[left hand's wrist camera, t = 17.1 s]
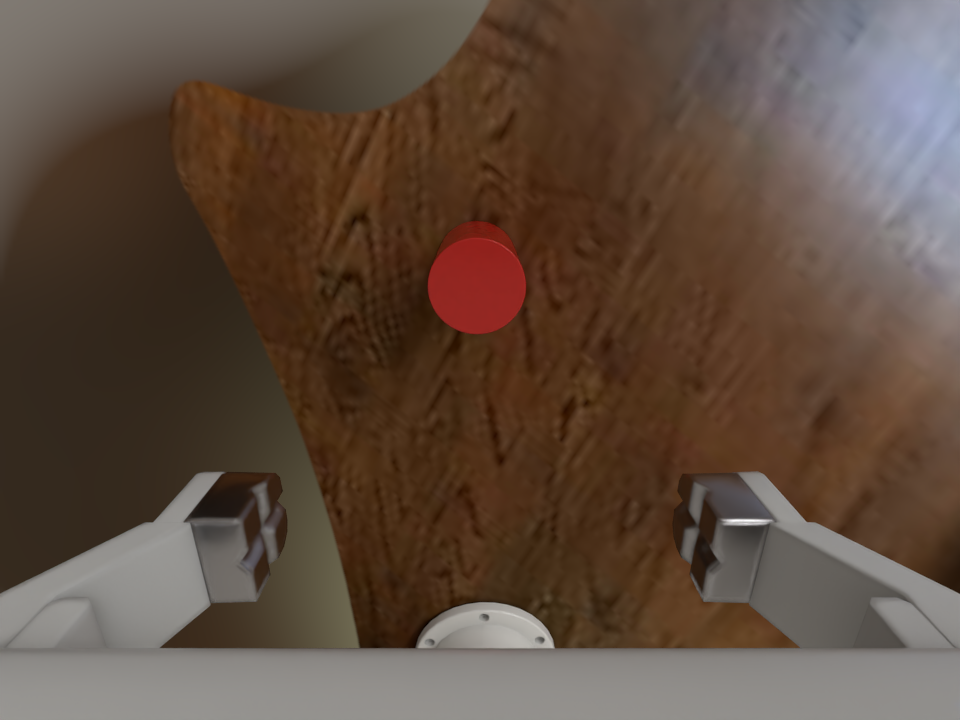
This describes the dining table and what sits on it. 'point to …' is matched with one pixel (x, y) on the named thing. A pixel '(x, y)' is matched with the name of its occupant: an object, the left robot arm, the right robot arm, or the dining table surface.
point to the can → (476, 279)
